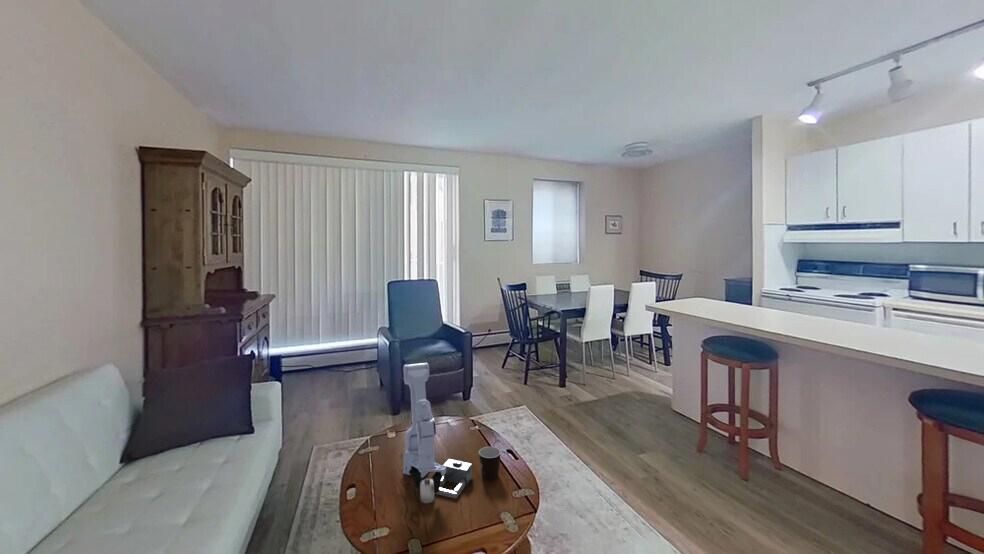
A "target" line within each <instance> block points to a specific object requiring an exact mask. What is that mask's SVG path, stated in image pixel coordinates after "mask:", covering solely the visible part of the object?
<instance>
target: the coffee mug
mask: <svg viewBox="0 0 984 554" xmlns="http://www.w3.org/2000/svg"><path fill="white" fill-rule="evenodd" d="M501 452H502V451H501V450H500V448H499V447H495V446H484V447H482V448H480V449H479V450H478V456H479V462H480V464H479V466H480V471H481V478H482V479H483V480H484V481H486V482H493V481H496V480H497V479H498V478H499V470H500V462H501V461H500V460H501V455H502V454H501Z"/></svg>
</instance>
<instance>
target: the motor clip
mask: <svg viewBox="0 0 984 554" xmlns="http://www.w3.org/2000/svg"><path fill="white" fill-rule="evenodd" d="M440 465H441V466H443V467H446V473H445V474H444V475H443V477H442V480H441V483H440V487H439V491H438V492H437V493H434V495H439V496H443V497H448V498H452V499H455V500H456V499H457V498H458V497H459V495H460V494H461V493H462V492H463V490H464V489H465V487H466V486H467V485H468V484H469V483H470V481H471V480H472V478H473V472H472V471H473V468H472V467H473V466H472V465H473V464H472V463H470V462H465V461H462V460H456V459H452V458H448V459H447V461H445V462H444V464H443V465H442V464H440ZM446 482H451V483H453V484H457V485H456V487H455V488H454V489H453V490H452V489H446V488H443V486H444V485H445V484H446Z"/></svg>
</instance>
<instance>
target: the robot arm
mask: <svg viewBox="0 0 984 554" xmlns="http://www.w3.org/2000/svg"><path fill="white" fill-rule="evenodd" d="M402 371H403V372H402V373H403V382H404V385H407V386H409V391H410V405H411V406H410V408H411V422H412V424H411V426H410V427H409V428H408V429H407V430H406V432H405V447H406V449H405V451H404V454H403V472H402V474H404V475H408V476H411V478H412V480H413V483H414V485H415V488H416V490H418V489H419V488H420V483H421V481H422V479H423V478H424V477H425V476H427V474H428V473H429V472H431V473H432V472H433V473H434V474H433V475H432V476H431V478H432V480H433V482H434V494H435V493H437V492H438V491H439V487H440V483H441V480H442V477H443V475H444V474H445V473H446V467H443V465H442V464H439V463H437V462H436V461H435V460H436V458H435V456H436V455H435V436H436V435H437V423H436V419H435V418H434V415H433V413H432V407H431V402H430V401H429V400H428V399H427V393H426V392H427V390H426V382H427V381H428V380H429V377H430V365H429V363H428V362H419V363H412V364H411V363H410V364H404V365H403V368H402ZM441 465H442V466H441Z"/></svg>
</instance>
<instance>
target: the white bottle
mask: <svg viewBox="0 0 984 554" xmlns="http://www.w3.org/2000/svg"><path fill="white" fill-rule="evenodd" d="M419 488H420V489H419V490H420V492H419V495H420V501H421V503H423V504H430V503H433V502H434V501H435V493H434V482H433V479H431V478H429V477H427V478H424V479H421V483H420V487H419Z"/></svg>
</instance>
